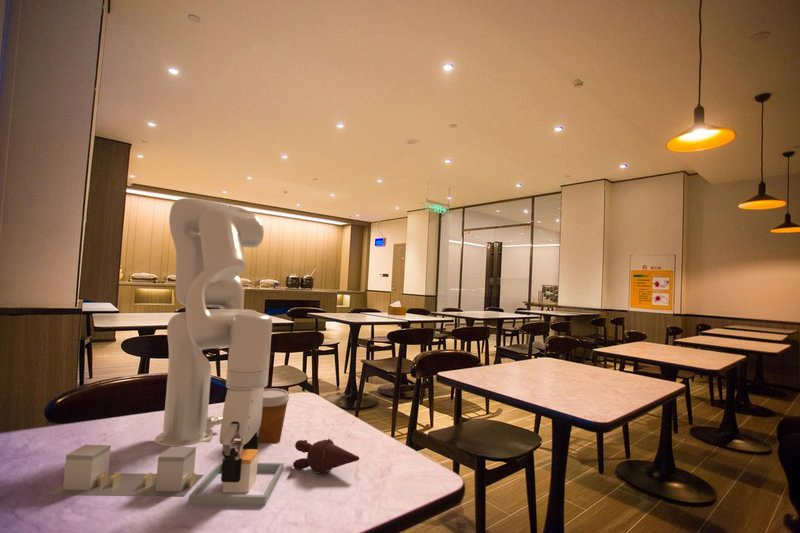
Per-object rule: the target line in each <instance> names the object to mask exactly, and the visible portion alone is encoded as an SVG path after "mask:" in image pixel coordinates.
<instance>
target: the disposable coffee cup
mask: <svg viewBox="0 0 800 533" xmlns="http://www.w3.org/2000/svg"><path fill="white" fill-rule="evenodd" d="M290 398H291V397H290V396H289V392H288V391H287V390H286V389H282V388H281V389H280V388H263V409H262V420H261V425H260V428H259V435H258V437H259V441H258V444H268V445H270V444H273V445H274V444H275V445H278V444H279V443H280V442H281V437H282V432H283V428H284V421H285V417H286V411H287V406H288V402H289V400H290Z"/></svg>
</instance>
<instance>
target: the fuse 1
mask: <svg viewBox="0 0 800 533" xmlns="http://www.w3.org/2000/svg"><path fill="white" fill-rule="evenodd" d="M111 447H112V446H111V444H85V445H83V446H80V447H79V448H76V449H75V450H73V451H72V452H70V453H68V454H66V455H65V466H64V467H65V468H64V474H63V484H62V485H63V489H66V490H90V489H92V488H93V487H95V486H96V485H97V479H98V477H99V476H100V475H102V474H103V473H105V472H109V468H110V466H109V465H110V458H111Z"/></svg>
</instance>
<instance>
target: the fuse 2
mask: <svg viewBox="0 0 800 533" xmlns="http://www.w3.org/2000/svg"><path fill="white" fill-rule="evenodd" d="M196 452H197V447H196V446H175V447H171V446H169V448H167V450H164V452H163V453H161V454H160V455H159V456H158V457H157V468H156V474H157V478H156V489H155V491H182V490H183V489H184V488H185V487H186V486H187V479H188V478H189V477H190V476H191V475H192V474H195V467H196V466H195V464H196Z"/></svg>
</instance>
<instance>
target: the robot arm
mask: <svg viewBox="0 0 800 533" xmlns="http://www.w3.org/2000/svg"><path fill="white" fill-rule="evenodd" d="M169 212H170V213H169V220H168V221H169V222H168V223H169V230H170V235H171V238H172V242H173V244H174V250H175V254H176V258H175V297H176V300H177V302H178V303H179V304H180V305H183V306H185V311H182V312H180V313H177V314H175V315H173V316H171V318H169V321H168V323H167V327H166V332H167V334H166V336H167V343H168V344H167V345H168V366H167V369H168V370H167V379H166V391H165V392H166V393H165V402H164V403H165V406H164V415H163V416H164V417H163V427H162V428H163V429H162V432H161V433H159V434H158V435H156V436H155V439H154V443H156V444H157V445H159V446H163V447H187V446H191V445H195V444H199V443H208V442H209V441H211V440H212V439H213V436H214V430H212V429H213V428H214V427H215V426H219V425H220V432H219V444H220V445H222V452H221V454H222V457H221V460H222V461H221V462H222V471H221V474H220V475H221V477H220V480H221V481H220V482H222V483H224V482H239V481H240V478H241V466H242V458H240V456H241V452H242V449H258V450H259V443H258V441H259V437H258V435H259V428H260V425H261V420H262V409H263V389H265V388H266V387H267V386H268V385H269V371H270V370H269V369H270V357H271V348H272V347H271V344H272V332H273V319H272V317H271V316H270V315H268V314H265V313H260V312H258V311H257V310H254V309H247V308H246V309H245V308H244V289H243V288H244V287H243V282H242V280H241V278H240V275H242V274H243V273H244V272H245V270H246V267H247V265H246V264H247V263H246V259H245V254H244V249H243V247H244V248H257V247H259V246H260V245H261V243H262V242H263V239H264V235H265V234H264V233H265V230H264V229H265V228H264V225H263V223H262V221H261V219H260V217H259V216H258V215H257V214H255V213H253V212H251V211H248V210H247V209H245V208H242V207H239V206H235V205H231V204H225V203H219V202H215V201H210V200H206V199H199V198H191V197H190V198H187V197H186V198H185V197H184V198H179V199H177V200H175V201H174V202H173V203H172V206H171V208H170V211H169ZM207 307H219V308H209V309H208V308H207ZM221 348H228V354H227V355H228V356H227V358H228V359H227V366H226V367H227V368H226V370H227V371H226V380H225V387H226V388H227V390H226V391H227V392H226V395H225V399H224V400H225V401H224V403H223V411H222V415H220V416H217V417H215V416H214V415H211V416H209V405H210V404H209V403H210V391H211V390H210V389H211V380H212V379H211V376H212V365H211V363H210V361H209V359H208V358H207V357H206V355H205V354H204V353H203V351H204V350H211V349H221ZM235 447H237V448H235ZM235 449H237V452H236V450H235Z"/></svg>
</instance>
